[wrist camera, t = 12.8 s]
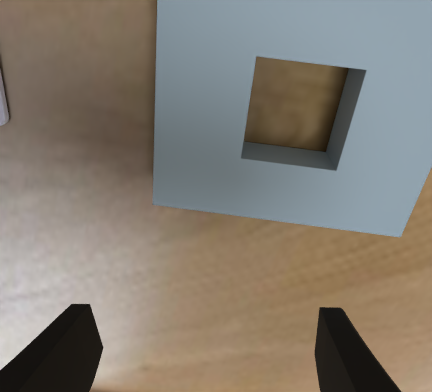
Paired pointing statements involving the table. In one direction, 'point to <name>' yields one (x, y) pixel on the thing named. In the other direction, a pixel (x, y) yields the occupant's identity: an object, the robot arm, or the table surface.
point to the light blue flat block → (286, 156)
